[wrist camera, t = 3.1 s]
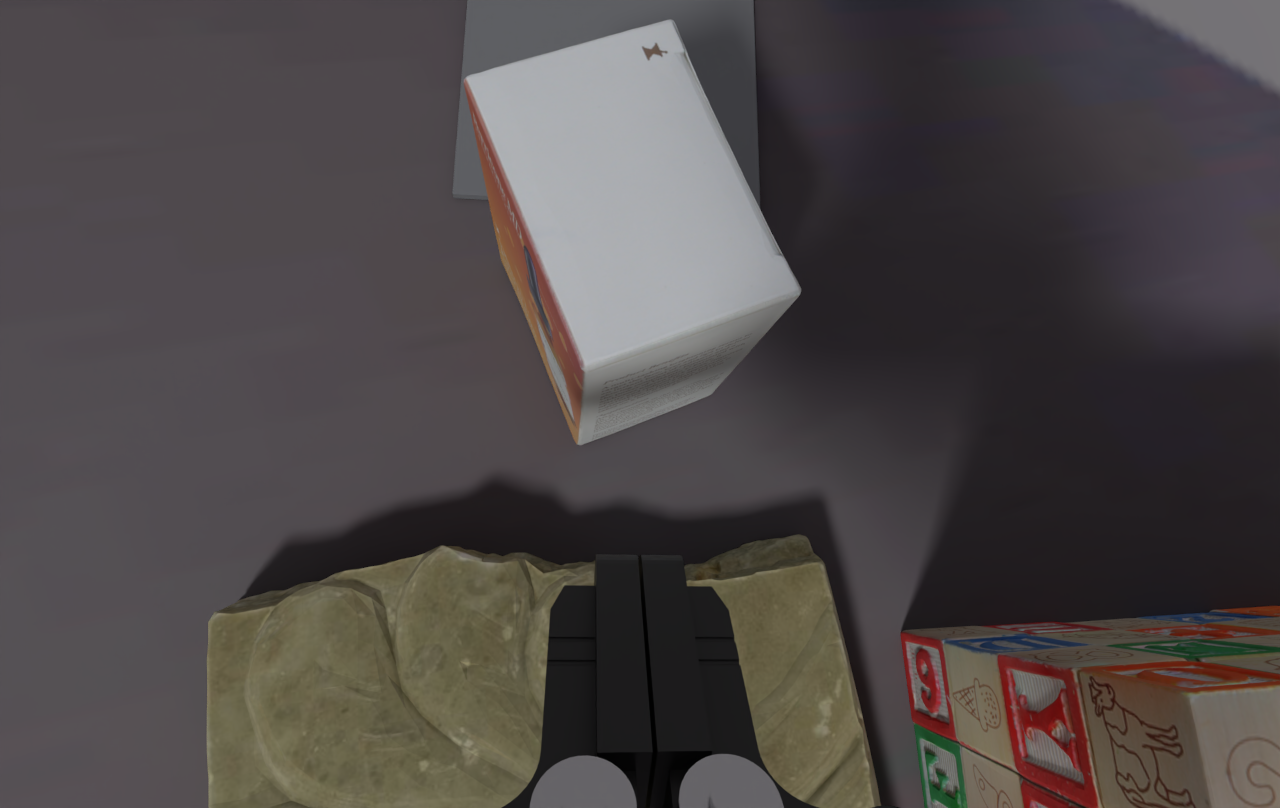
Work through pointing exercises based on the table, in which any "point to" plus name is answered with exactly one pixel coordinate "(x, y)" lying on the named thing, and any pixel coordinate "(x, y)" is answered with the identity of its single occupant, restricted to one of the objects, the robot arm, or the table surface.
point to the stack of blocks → (1100, 712)
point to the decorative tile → (494, 681)
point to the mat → (602, 6)
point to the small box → (625, 226)
